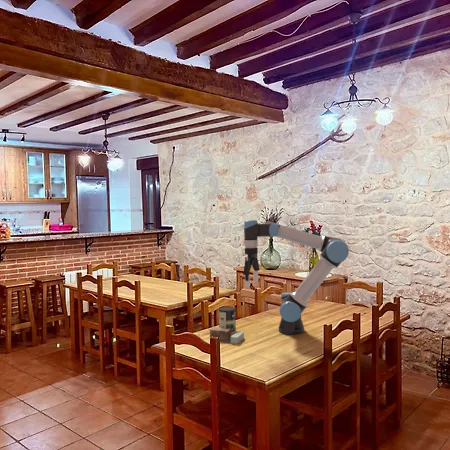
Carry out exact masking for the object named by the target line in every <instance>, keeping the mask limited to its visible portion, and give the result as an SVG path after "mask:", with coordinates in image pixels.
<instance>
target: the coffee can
mask: <svg viewBox="0 0 450 450" xmlns="http://www.w3.org/2000/svg"><path fill="white" fill-rule="evenodd" d="M236 309H237V308H236V307H234V306H227V305H226V306H220V307H218V328H226V329H231V335H233V334H235V333H236V332H237V327H236V325H237V323H236V320H237V319H236Z"/></svg>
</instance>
